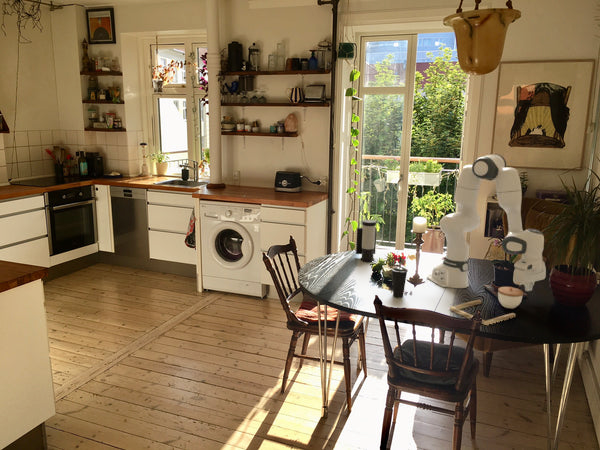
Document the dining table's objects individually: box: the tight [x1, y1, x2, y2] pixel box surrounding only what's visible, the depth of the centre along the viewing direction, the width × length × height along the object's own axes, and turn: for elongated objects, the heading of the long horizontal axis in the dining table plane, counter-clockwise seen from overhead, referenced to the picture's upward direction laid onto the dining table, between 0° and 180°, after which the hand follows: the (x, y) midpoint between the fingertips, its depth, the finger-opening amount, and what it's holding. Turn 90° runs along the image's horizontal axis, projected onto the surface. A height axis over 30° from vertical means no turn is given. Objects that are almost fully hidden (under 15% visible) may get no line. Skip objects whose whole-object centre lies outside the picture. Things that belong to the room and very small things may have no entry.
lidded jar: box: [497, 286, 524, 309], centre depth 231 cm, size 11×11×9 cm
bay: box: [449, 299, 517, 326], centre depth 223 cm, size 20×20×2 cm
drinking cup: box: [391, 256, 408, 299], centre depth 240 cm, size 8×8×20 cm
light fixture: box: [355, 219, 377, 263], centre depth 299 cm, size 12×11×25 cm
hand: (528, 290), depth 237 cm, fingers closed
